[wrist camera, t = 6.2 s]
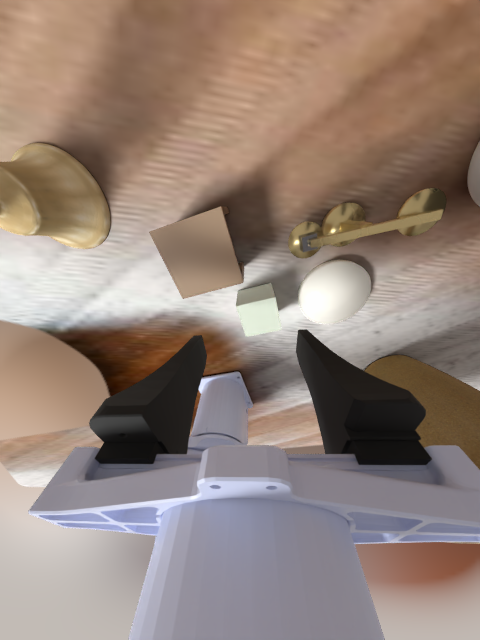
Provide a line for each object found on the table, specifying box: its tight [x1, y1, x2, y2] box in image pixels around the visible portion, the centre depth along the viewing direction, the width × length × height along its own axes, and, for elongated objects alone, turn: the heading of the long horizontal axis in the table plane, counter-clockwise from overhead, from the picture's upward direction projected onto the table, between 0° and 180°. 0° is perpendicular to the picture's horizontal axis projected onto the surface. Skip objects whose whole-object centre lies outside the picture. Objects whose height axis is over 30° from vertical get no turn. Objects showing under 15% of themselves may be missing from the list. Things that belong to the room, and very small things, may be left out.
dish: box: [298, 259, 371, 324], centre depth 20 cm, size 8×8×1 cm
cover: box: [149, 206, 244, 299], centre depth 17 cm, size 6×6×5 cm
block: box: [236, 283, 282, 337], centre depth 20 cm, size 4×4×4 cm
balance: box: [288, 188, 446, 258], centre depth 15 cm, size 4×11×6 cm, turn 106°
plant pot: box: [364, 355, 480, 544], centre depth 21 cm, size 15×15×16 cm
